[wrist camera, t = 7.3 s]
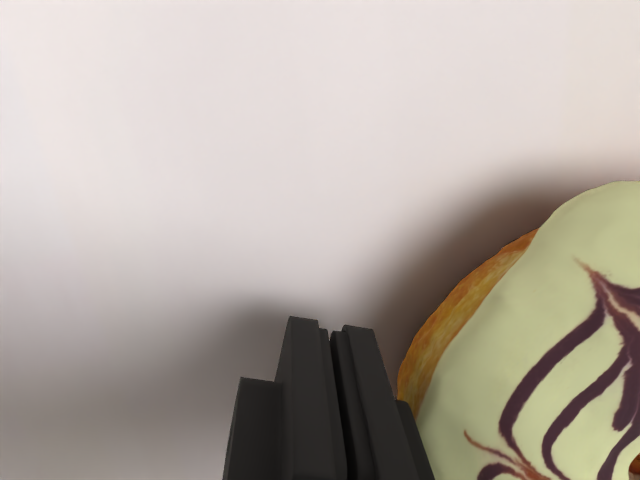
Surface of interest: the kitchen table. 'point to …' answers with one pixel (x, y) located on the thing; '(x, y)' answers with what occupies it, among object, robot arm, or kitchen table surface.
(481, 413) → the decorated donut
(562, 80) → the kitchen table surface
